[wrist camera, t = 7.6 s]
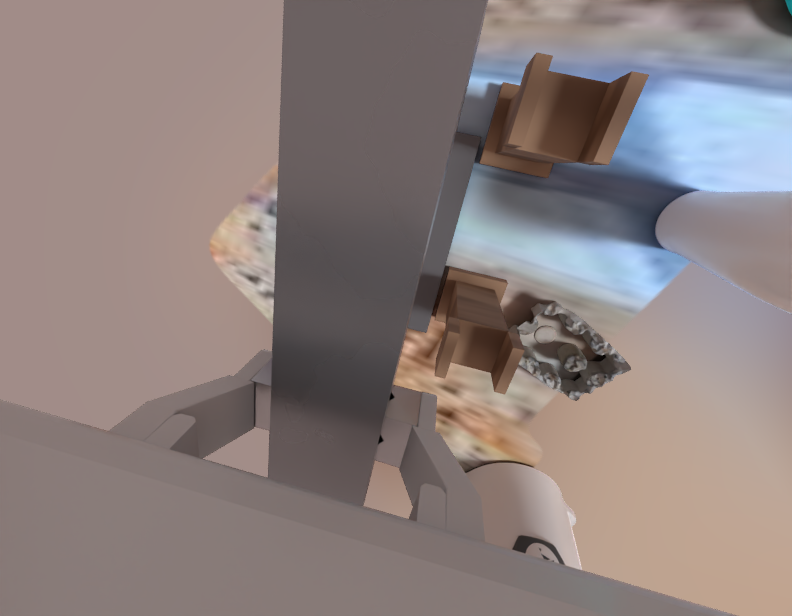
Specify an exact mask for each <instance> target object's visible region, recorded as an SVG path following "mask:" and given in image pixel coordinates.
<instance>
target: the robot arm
mask: <svg viewBox="0 0 792 616" xmlns="http://www.w3.org/2000/svg"><path fill="white" fill-rule="evenodd" d="M271 374H272V351H268V350H265V349H264V350H261V351H260V352H259V353H258V354H257V355H256V356H254V358H252V359H251V360H250V361H249V362H248V363H247V364H246V365H245V366H244V367H243V368H242V369H241V370H240V371H239V372H238V373H237V374H236V375H235V376H230V375H229V376H226V377H223V378H220V379H216V380H213V381H210V382H207V383H204V384H201V385H198V386H195V387H192V388H189V389H185V390H182V391H179V392H176V393H173V394H170V395H167V396H164V397H161V398H158V399H154V400H152V401H148V402H146V403H145V404H143V405H142V406H141V407H139V408H138V409H137V410H136V411H134V412H133V413H132V414H130V415H129V416H128V417H126V418H125V419H124V420H123V421H121V422H120V423H119V424H117V425H116V426H115V427H113V428H112V429H111V430H110V431H106V430H102V429H99V428H96V427H92V426H89V425H85V424H81V423H78V422H75V421H72V420H68V419H65V418H61V417H58V416H55V415H51V414H48V413H44V412H41V411H38V410H34V409H30V408H27V407H24V406H21V405H17V404H13V403H10V402H7V401H3V400H0V616H736V615H733V614H730V613H727V612H723V611H720V610H716V609H713V608H709V607H706V606H702V605H699V604H695V603H692V602H689V601H686V600H682V599H678V598H675V597H672V596H668V595H665V594H662V593H658V592H655V591H651V590H648V589H644V588H641V587H638V586H634V585H631V584H628V583H624V582H621V581H617V580H614V579H610V578H607V577H603V576H600V575H596V574H593V573H590V572H586V571H583V570H582V569H581V564H580V560H579V555H578V552H577V547H576V543H575V539H574V535H573V531H572V526H573V525H574V524H575V523H576V517H575V513H574V512H573V510H572V509H571V508H570V507H569V506H568V505H567V504H566V503H565V502H564V500H563V497H562V494H561V491H560V489H559V487H558V485H557V484H556V483H555V482H554V481H553V480H552V479H551V478H550V477H549V476H547V475H546V474H545V473H543V472H541V471H539V470H537V469H535V468H532V467H529V466H526V465H521V464H516V463H493V464H488V465H484V466H481V467H478V468H476V469H473V470H471V471H469V472H467V473H465V472H464V470H463V469H462V467H461V466H460V464H459V463H458V461H457V460H456V458H455V456H454V455H453V453H452V452H451V450H450V449H449V447H448V446H447V444H446V442H445V441H444V439H443V438H442V436H441V435H440V433H438V432H435V424H436V407H437V396H436V395H433V394H429V393H425V392H419V391H415V390H412V389H408V388H404V387H400V386H396V385H393V387H392V391H391V395H390V399H389V402H388V406H387V410H386V413H385V417H384V421H383V425H382V429H381V433H380V438H379V442H378V446H377V450H376V454H375V458H374V460H376V461H379V462H382V463H386V464H389V465H392V466H395V467H398V468H400V472H401V475H402V478H403V481H404V484H405V486H406V489H407V492H408V495H409V497H410V500H411V503H412V506H413V509H412V512H411V514H410V517H409V519H406V518H403V517H399V516H396V515H392V514H389V513H385V512H382V511H379V510H375V509H372V508H368V507H365V506H362V505H358V504H355V503H351V502H348V501H345V500H341V499H338V498H334V497H331V496H328V495H324V494H321V493H317V492H314V491H311V490H307V489H304V488H300V487H297V486H294V485H290V484H287V483H283V482H280V481H276V480H273V479H270V478H266V477H263V476H259V475H256V474H253V473H249V472H246V471H242V470H239V469H236V468H232V467H229V466H225V465H221V464H218V463H215V462H212V461H208V460H205V459H202V458H204V457H206V456H207V455H209V454H211V453H213V452H214V451H216V450H218V449H219V448H221V447H223V446H225V445H226V444H228V443H229V442H231V441H233V440H235V439H236V438H238V437H240V436H241V435H243V434H245V433H247V432H248V431H250V430H252V429H253V428H254V427H257V428H261V429H265V430H269V431H270V404H271Z"/></svg>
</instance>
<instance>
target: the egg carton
mask: <svg viewBox="0 0 792 616" xmlns="http://www.w3.org/2000/svg"><path fill="white" fill-rule="evenodd" d="M531 310H532V312H533V315H534V317H533V320H532V321H531V322H528V321H526V322H524V323H523V324H521V325H520V326H517V325H513V326H512V327H511V328H510V329H509V332H512V333H516V334H518V335H519V337H520V334H523V335H527V334H530V333H533V332H534V331H535V330H536V329H537V326H538V321H537V319H536V317H537V316H538V315H539V314H541V313H544V315H549V316H553V315H555V314H558V315H559V318H560V320H561V321H562V323H563V324H564V326H565V328H566V329H567V330H569V331H570V332H572V333H573V335H577V334H582V336H583V338H584V339H585V341H586V342H587V343H588V345H589V346H590V347H591V349H592V351H593V352H594V353H596V354H597V355H596V356H595V357H594V358H593V359H592V360H591V361H587V360H586V357H585V356H584V355H583V353H582V352H581V350H580V349H579V348H578V347H577V346H576V345H574V344H564V345H562V346H561V347H559V349H558V350H557V356H558V358H559V360H560V362H561V364H562V365H563V367H564V369H566V370H567V371H569V372H577V371H579V373H578V374H577V375H576V376H575V377H573V378H572V380H569V379H565V380H561V379H560V377H559V375H558V373H557V371H556V369H555V368H554V366H553V365H552V364H549V363H541V364H539V363H538V361H537V360H536V357H535V355H534V353H533V351H532V349H531V348H529V347H527V346H523V347H524V350H525V351H524V353H523V355H522V358H521V360H520V362H519V365H520V366H521V367H522V368H524V369H525V370H528V371H529V372H530V373H531V374H532V375H533V376H535V377H537V378H538V379H539V380H541V381H542V382H543V383H544V384H545V385H546V386H548V387H550V388H552V389H554V390H557V391H559V392H560V393H564V394H566V395H567V396H568V397H569V398H570V399H572V400H575V401H577V400H578V399H579V397H580V396H581V395H582V394H584V393H589V394H590V393H592V392H593V390H594V389H595V388H597V387H602V386H603V385H604V384H605V383H608V382H610V381H613V379H614V377H615V376H616V375H619V374H623V373H625V372H627V371H629V370H631V367H630V366H629V364H628V363H627V362H626V361H625V359H624V358H623V357H622V356H621V355H620V354H619V353H618V352H617V351H616V350H615V349H614V348H613V347H612V346H611V345H610V344H609V343H608V342H606V341H605V340H604V339H603V338H602V337H601V336H600V335H599V334H598V333H597V332H596V331H595V330H594V329H592V328H591V327H590V326H589V325H588V324H587V323H586V322H585V321H584V320H583V319H581V318H580V317H579V316H577V315H576V314H574V313H573V312H571V311H569V310H567V309H564V308H563V307H562V306H561V305H560V304H559V303H557V302H552V303H551V304H548V305H543V304H539V303H538V304H536V305H535V306H534V307H532V308H531ZM519 333H520V334H519ZM534 336H535V339H536V341H537V342H539V343H541V344H548V343H551V342H553V341H554V340H555V338H556V336H557V335H556V331H555V329H554V328H553V327H551V326H542V327H539V328H538V329H537V330H536V331H535V335H534Z"/></svg>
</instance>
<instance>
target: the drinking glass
mask: <svg viewBox="0 0 792 616" xmlns="http://www.w3.org/2000/svg"><path fill="white" fill-rule="evenodd" d="M655 234H656V238H657V240H658V242H659V243H660V245H661V246H662V247H663V248H665V249H666V250H668V251H670V252H672V253H675V254H677V255H680V256H682V257H684V258H686V259H687V260H689V261H691V262H693V263H695V264H697V265H698V266H700V267H702V268H704V269H706V270H708V271H709V272H711V273H713V274H714V275H716V276H718V277H720V278H721V279H723V280H725V281H727V282H728V283H730V284H732V285H734V286H736V287H737V288H739V289H741V290H743V291H744V292H746V293H748V294H750V295H752V296H754V297H755V298H757V299H759V300H761V301H763V302H765V303H768V304H770V305H772V306H774V307H776V308H778V309H781V310H783V311H785V312H788V313H790V314H792V191H758V192H716V191H695V192H690V193H687V194H685V195H682V196H680V197H678V198H677V199H675V200H674V201H672V202H671V203H670V204H669V205H667V206H666V208H665V209H664V210H663V211H662V212H661V214H660V216H659V217H658V220H657V223H656V227H655Z"/></svg>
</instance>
